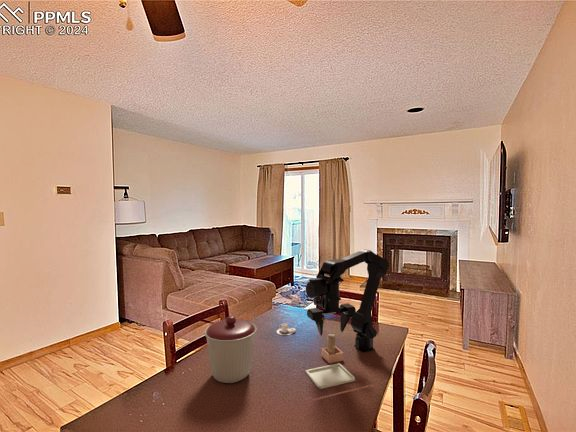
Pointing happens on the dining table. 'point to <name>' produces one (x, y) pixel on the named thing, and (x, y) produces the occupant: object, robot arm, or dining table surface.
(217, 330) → the canister
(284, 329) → the teacup and saucer
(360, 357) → the dining table surface
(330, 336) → the dowel
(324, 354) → the orange open box
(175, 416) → the dining table surface
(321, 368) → the tray
